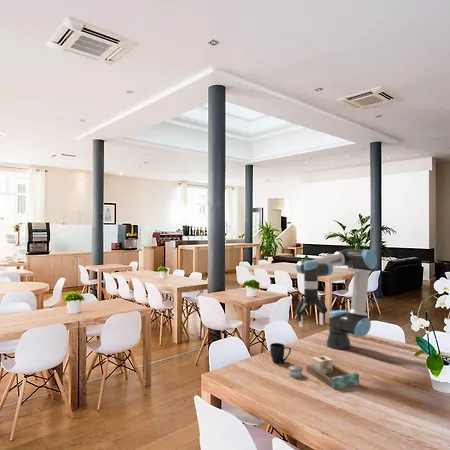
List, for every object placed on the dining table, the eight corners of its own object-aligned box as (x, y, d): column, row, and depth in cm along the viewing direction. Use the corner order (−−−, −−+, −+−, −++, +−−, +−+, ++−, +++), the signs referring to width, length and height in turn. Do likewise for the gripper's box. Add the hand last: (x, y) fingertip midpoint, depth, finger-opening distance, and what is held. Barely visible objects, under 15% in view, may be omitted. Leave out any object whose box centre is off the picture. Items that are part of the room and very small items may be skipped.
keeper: (324, 368, 202) (324, 354, 202) (332, 372, 196) (332, 358, 196) (312, 370, 200) (312, 356, 200) (319, 374, 193) (319, 360, 193)
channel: (329, 367, 204) (329, 358, 204) (359, 384, 182) (359, 374, 182) (306, 371, 199) (306, 361, 199) (334, 389, 176) (334, 378, 176)
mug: (288, 366, 206) (288, 349, 206) (268, 362, 212) (268, 346, 212) (292, 361, 213) (292, 345, 214) (273, 358, 219) (273, 342, 219)
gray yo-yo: (298, 372, 198) (297, 364, 198) (305, 377, 191) (305, 369, 191) (286, 374, 195) (286, 366, 195) (293, 379, 188) (293, 371, 189)
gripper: (325, 285, 215) (325, 322, 214) (288, 288, 206) (288, 326, 206) (333, 287, 208) (333, 325, 207) (295, 290, 199) (295, 329, 199)
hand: (311, 325), depth 207 cm, fingers open, 13 cm apart
